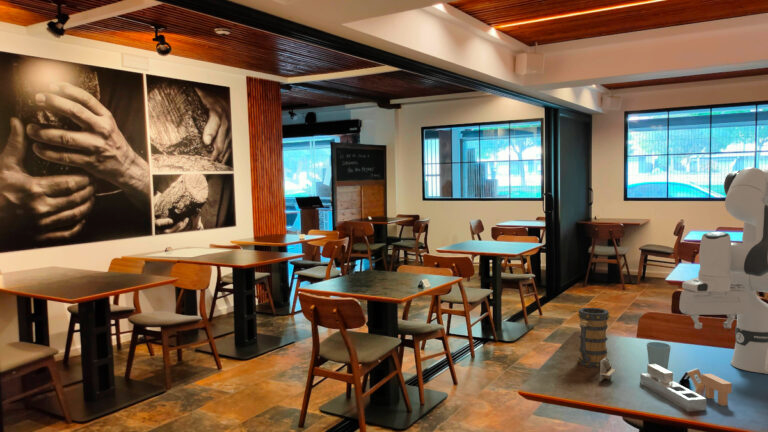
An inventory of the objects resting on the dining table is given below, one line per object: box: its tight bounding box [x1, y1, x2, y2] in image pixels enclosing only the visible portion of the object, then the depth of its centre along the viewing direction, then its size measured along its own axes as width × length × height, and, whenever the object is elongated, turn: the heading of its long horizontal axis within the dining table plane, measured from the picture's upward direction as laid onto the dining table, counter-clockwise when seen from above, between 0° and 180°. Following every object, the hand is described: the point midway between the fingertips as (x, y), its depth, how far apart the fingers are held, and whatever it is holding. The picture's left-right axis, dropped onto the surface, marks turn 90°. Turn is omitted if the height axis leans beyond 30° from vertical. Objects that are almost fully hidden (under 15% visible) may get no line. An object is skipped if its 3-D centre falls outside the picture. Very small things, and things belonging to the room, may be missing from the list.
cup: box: [646, 341, 672, 370], centre depth 205 cm, size 8×8×10 cm
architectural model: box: [599, 358, 616, 382], centre depth 199 cm, size 3×7×7 cm, turn 141°
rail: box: [639, 363, 708, 413], centre depth 184 cm, size 6×24×7 cm, turn 9°
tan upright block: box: [701, 373, 733, 406], centre depth 179 cm, size 3×9×7 cm, turn 9°
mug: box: [576, 307, 611, 369], centre depth 215 cm, size 13×17×20 cm
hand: (712, 328), depth 180 cm, fingers open, 8 cm apart
